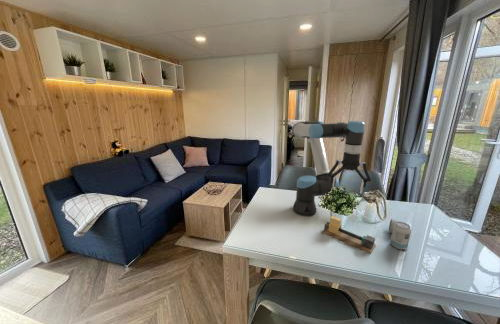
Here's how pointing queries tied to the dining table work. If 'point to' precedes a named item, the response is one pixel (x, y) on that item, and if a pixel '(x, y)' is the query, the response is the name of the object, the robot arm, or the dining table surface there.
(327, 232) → the brown long block assembly
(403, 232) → the beverage can
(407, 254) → the dining table surface
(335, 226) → the sleeve
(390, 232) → the ceramic mug
